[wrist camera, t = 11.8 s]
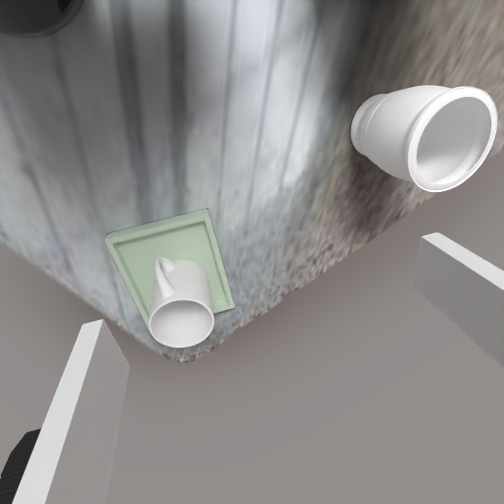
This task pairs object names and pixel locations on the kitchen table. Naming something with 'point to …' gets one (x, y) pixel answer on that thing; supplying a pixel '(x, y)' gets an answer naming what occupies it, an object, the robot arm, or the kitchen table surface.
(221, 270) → the tray
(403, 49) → the kitchen table surface
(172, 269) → the mug
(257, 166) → the kitchen table surface
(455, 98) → the jar
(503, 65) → the kitchen table surface
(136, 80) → the kitchen table surface
